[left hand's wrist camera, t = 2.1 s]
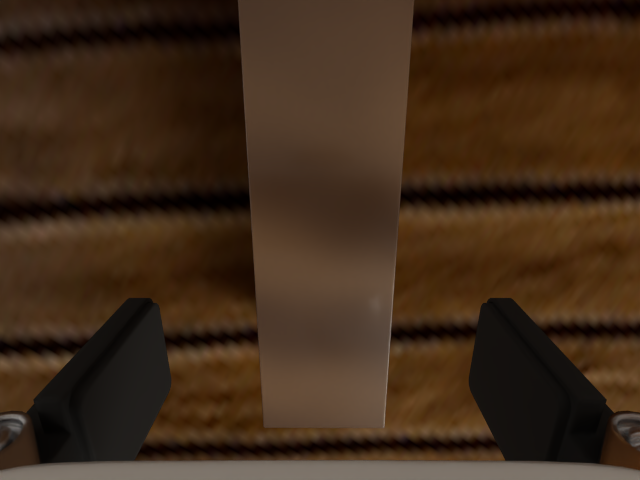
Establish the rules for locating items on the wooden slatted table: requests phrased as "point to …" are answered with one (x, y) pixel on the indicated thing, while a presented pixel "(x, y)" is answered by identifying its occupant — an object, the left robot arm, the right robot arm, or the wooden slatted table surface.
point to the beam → (325, 200)
